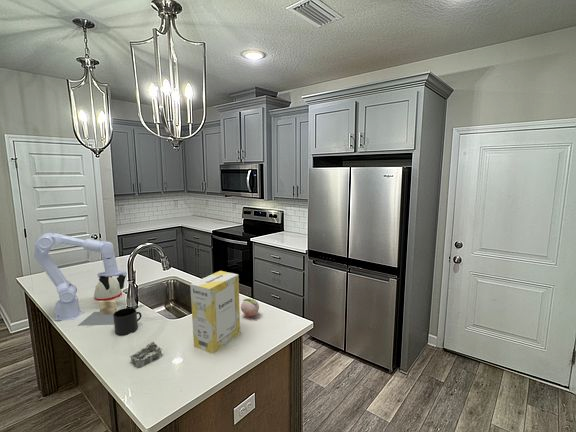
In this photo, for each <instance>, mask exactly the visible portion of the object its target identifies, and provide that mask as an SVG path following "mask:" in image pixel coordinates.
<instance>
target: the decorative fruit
mask: <svg viewBox="0 0 576 432" xmlns="http://www.w3.org/2000/svg"><path fill="white" fill-rule="evenodd" d="M259 309H260V304H259V302H258V300H256V299H253V298H244V299H242V302H241V305H240V310H241V312H242V313H243V315H245V316H247V317H251V318H252V317H254V316H256V315H257V314H258V312H259Z"/></svg>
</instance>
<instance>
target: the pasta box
mask: <svg viewBox="0 0 576 432" xmlns="http://www.w3.org/2000/svg"><path fill="white" fill-rule="evenodd" d="M239 276H240V275H239V274H238V273H234V272H227V271H223V270H219V271H216V272H214V273H211V274H210V275H207V276H205V277H203V278H201V279H198V280H196V281H194V282H192V283H190V284H189V286H190V302H191V303H190V304H191V318H192V319H191V320H192V321H191V322H192V335H193V336H192V337H193V347H194V348H196V349H199V350H202V351H204V352H206V353H209V354H212V355H214V354H215V353H216V352H218V351H219V350H220V349H221V348H222V347H224V346H225V345H227V343H229V342H230V341H232V340H233V339H234V338H235V337H237V336H238V335H239V334H240V333H241V313H240V312H241V311H240V310H241V307H240V287H239V286H240V284H239V283H240V282H239V281H240V278H239Z"/></svg>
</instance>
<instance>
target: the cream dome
mask: <svg viewBox="0 0 576 432" xmlns="http://www.w3.org/2000/svg"><path fill="white" fill-rule="evenodd" d="M98 279H100V277H99V278H98ZM98 281H99V280H98ZM95 285H96V286H95V289H94V294H93V296H94V300H95V301H97V302H99V301H112V300H114V299H117V298H120V297H121V296H122V295H123V294H122V293H123V290H122V289H120V286H119V282H118V280H117V279H115V278H113V276H109V286H110V288H109V289H108V290H106V289H105V287H104V285H103V284H102V283H101V282H100V281H99V282H98V283H96V284H95Z"/></svg>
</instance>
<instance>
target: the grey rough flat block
mask: <svg viewBox="0 0 576 432" xmlns="http://www.w3.org/2000/svg"><path fill="white" fill-rule="evenodd" d="M162 351H163V349H162V348H161V347H160V346H158V344H157V343H155V342H154V341H152V342H150V343H148V344H146V346H145V347H143V348H142V349H140V350H138V351H136V352H135V353H134V354H132V355H129V358H130V360H131V364H133V365H134V364H135V367H136V368H139V367H141V368H142V367H144V366H145V364H146V363H151V362H153V360H154V359H159V358H161V355H162ZM151 352H154V353H151ZM150 353H151V354H150Z"/></svg>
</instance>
